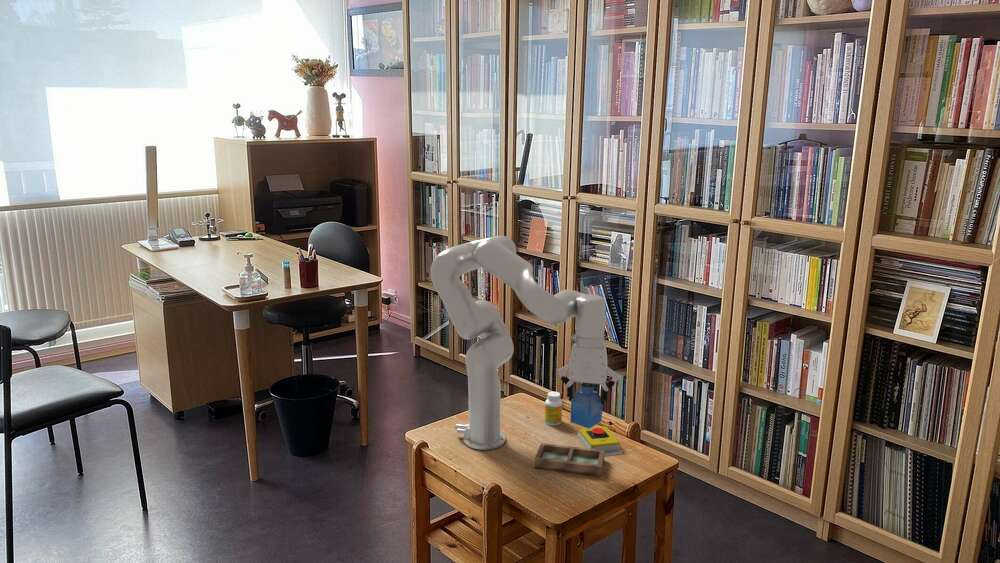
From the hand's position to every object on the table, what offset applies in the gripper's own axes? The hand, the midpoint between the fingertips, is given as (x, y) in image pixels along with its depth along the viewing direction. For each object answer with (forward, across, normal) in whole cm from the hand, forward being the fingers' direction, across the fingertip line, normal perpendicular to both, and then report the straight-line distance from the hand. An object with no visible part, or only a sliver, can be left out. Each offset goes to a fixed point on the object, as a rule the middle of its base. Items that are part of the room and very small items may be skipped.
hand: (587, 400), depth 198 cm
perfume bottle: (+6, 0, 0) cm, 6 cm away
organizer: (+20, -4, 0) cm, 20 cm away
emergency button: (+20, +3, +15) cm, 25 cm away
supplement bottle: (+20, -13, +26) cm, 35 cm away
